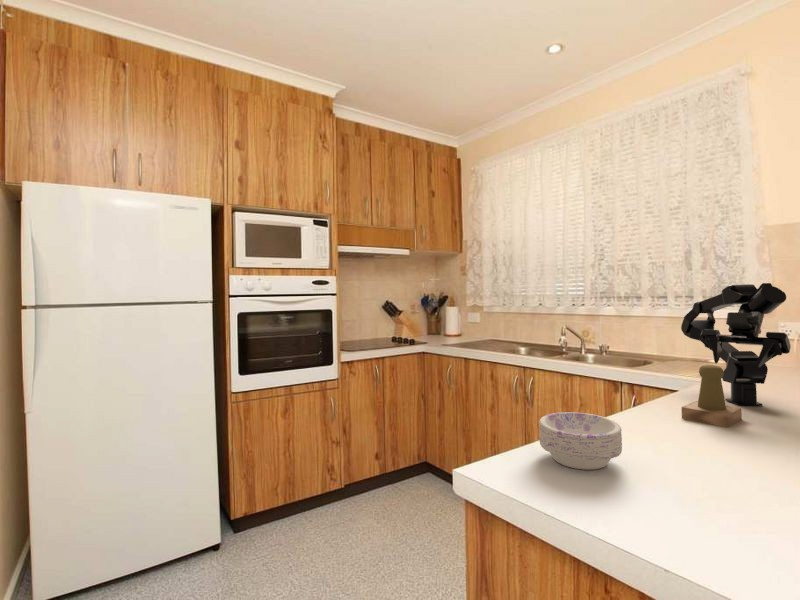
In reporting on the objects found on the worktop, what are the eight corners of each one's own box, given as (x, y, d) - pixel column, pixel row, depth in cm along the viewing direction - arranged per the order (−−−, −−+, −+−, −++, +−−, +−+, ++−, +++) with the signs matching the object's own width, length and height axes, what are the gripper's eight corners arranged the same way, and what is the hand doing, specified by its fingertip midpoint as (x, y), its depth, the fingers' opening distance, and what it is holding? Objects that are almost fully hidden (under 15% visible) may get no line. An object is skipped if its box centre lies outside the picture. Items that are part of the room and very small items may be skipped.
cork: (716, 404, 112) (715, 363, 112) (732, 410, 106) (731, 367, 106) (692, 404, 112) (691, 363, 112) (707, 410, 106) (706, 367, 106)
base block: (681, 418, 110) (681, 406, 110) (697, 411, 116) (696, 400, 116) (727, 427, 102) (727, 415, 102) (741, 419, 108) (741, 408, 108)
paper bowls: (565, 480, 75) (564, 436, 75) (526, 450, 90) (526, 414, 90) (641, 473, 78) (640, 430, 78) (591, 445, 93) (590, 409, 93)
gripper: (701, 302, 123) (687, 342, 116) (786, 301, 107) (774, 348, 101) (712, 327, 127) (699, 367, 121) (795, 330, 112) (784, 376, 106)
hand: (736, 364), depth 112 cm, fingers open, 9 cm apart
